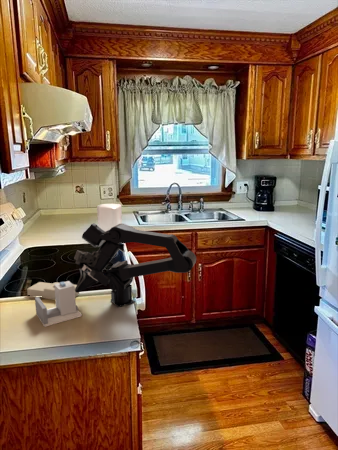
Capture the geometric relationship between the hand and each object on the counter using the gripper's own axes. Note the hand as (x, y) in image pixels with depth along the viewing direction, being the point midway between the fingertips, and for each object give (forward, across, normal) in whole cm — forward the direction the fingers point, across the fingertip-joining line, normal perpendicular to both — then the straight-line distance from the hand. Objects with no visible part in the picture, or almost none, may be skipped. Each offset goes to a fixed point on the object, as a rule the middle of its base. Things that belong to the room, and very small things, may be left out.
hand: (76, 291), depth 114 cm
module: (+8, 0, +2) cm, 8 cm away
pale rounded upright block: (-30, -84, +39) cm, 98 cm away
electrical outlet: (+8, -17, +3) cm, 19 cm away
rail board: (+9, 0, 0) cm, 9 cm away
